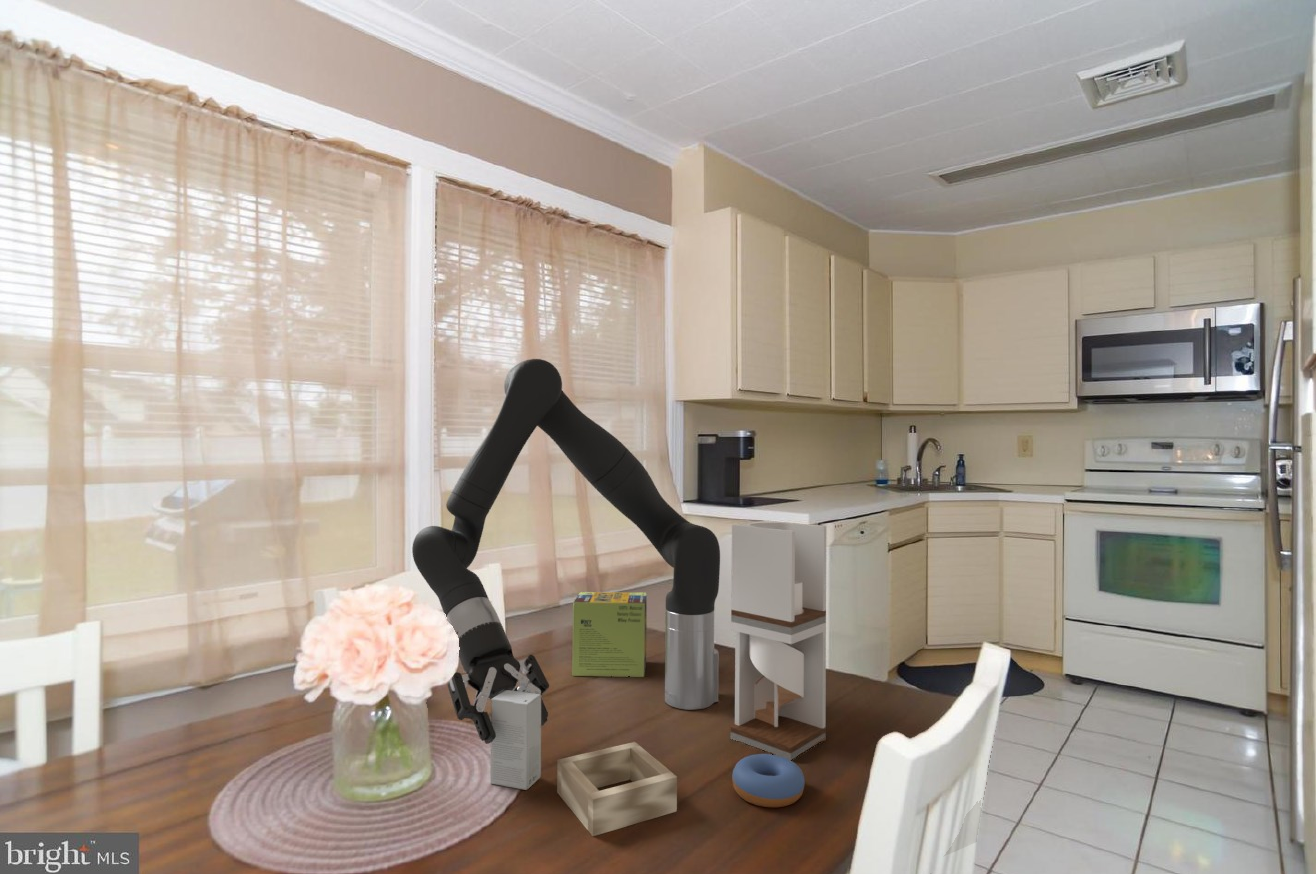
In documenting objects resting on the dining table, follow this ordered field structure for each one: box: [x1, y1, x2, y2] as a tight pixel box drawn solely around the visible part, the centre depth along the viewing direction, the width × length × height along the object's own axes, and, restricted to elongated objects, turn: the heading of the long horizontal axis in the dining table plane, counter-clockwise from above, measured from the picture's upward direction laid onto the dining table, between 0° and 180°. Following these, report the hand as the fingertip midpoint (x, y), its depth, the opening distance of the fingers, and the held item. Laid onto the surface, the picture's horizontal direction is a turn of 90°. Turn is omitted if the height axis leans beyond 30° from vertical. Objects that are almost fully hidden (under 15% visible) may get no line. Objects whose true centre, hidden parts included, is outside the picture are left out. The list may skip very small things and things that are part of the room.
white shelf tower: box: [730, 520, 827, 761], centre depth 111 cm, size 11×11×35 cm
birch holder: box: [556, 741, 678, 837], centre depth 91 cm, size 12×12×4 cm
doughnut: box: [731, 753, 806, 808], centre depth 94 cm, size 10×10×5 cm
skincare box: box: [490, 690, 542, 791], centre depth 97 cm, size 6×4×12 cm
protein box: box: [571, 591, 648, 678], centre depth 146 cm, size 10×15×16 cm
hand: (518, 732), depth 96 cm, fingers open, 8 cm apart
